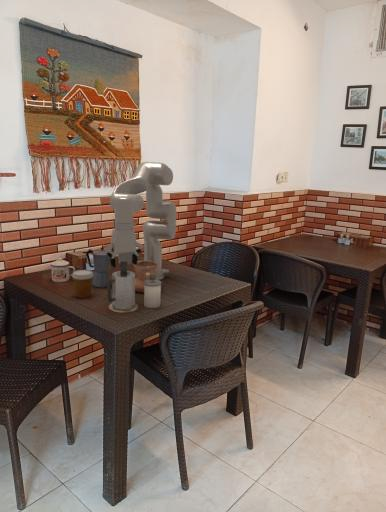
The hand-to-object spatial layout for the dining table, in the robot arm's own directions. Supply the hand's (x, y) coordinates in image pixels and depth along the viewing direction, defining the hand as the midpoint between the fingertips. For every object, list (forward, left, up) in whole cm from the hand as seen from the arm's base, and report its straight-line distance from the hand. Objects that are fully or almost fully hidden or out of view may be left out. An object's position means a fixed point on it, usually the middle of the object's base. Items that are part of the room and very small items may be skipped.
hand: (124, 265), depth 169 cm
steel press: (+1, 0, -19) cm, 19 cm away
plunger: (0, 0, -16) cm, 16 cm away
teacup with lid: (+12, -50, -20) cm, 55 cm away
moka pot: (-2, -34, -20) cm, 39 cm away
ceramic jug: (-19, -17, -20) cm, 32 cm away
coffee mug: (-33, -67, -20) cm, 77 cm away
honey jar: (+11, -21, -20) cm, 31 cm away
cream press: (-12, +4, -19) cm, 23 cm away
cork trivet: (0, 0, -19) cm, 19 cm away
